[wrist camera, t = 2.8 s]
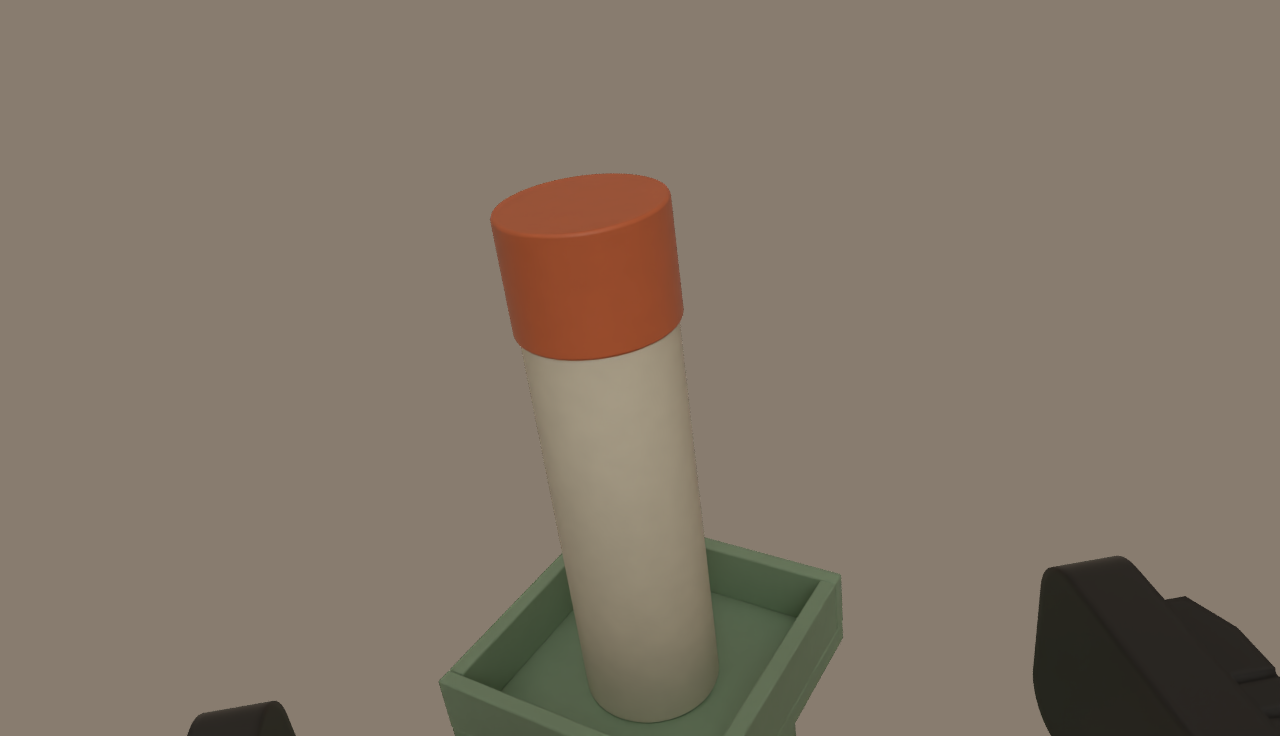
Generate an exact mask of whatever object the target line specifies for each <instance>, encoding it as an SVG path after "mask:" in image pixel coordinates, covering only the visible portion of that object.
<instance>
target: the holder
mask: <svg viewBox="0 0 1280 736" xmlns="http://www.w3.org/2000/svg"><path fill="white" fill-rule="evenodd" d="M704 538H705V537H704ZM705 547H706V556H707V565H708V573H709V582H710V591H711V600H712V609H713V617H714V626H715V635H716V644H717V653H718V661H719V673H718V678H717V680H716V683H715V685H714V687H713V689H712V691H711V692H710V694H709V695H708V696H707V698H706V699H705V700H704V701H703V702H702V703H701V704H699V705H698V706H697V707H695V708H694V709H693V710H691V711H689V712H688V713H686V714H683V715H681V716H679V717H676V718H673V719H670V720H666V721H661V722H653V723H642V722H633V721H628V720H624V719H621V718H619V717H616V716H614V715H612V714H611V713H609V712H607V711H606V710H605V709H604V708H602V707H601V706H600V705H599V704H598V703H597V701H596V700H595V699H594V697H593V695H592V694H591V691H590V689H589V685H588V680H587V675H586V670H585V665H584V660H583V655H582V650H581V645H580V640H579V635H578V630H577V625H576V620H575V615H574V610H573V605H572V600H571V595H570V590H569V585H568V580H567V575H566V569H565V564H564V559H563V554H561V555H560V556H559V557H558V558H557V559H556V560H555V561H554V562H553V563H552V564H551V565H550V566H549V567H548V568H547V569H546V571H544V572H543V573H542V574H541V575H540V577H539V578H538V579H537V580H536V581H535V582H534V583H533V584H532V585H531V586H530V587H529V588H528V589H527V590H526V591H525V592H524V593H523V594H522V595H521V596H520V597H519V598H518V599H517V600H516V601H515V602H514V604H513V605H512V606H511V607H510V608H509V609H508V610H507V611H506V612H505V613H504V614H503V615H502V616H501V617H500V618H499V619H498V620H497V621H496V622H495V623H494V624H493V625H492V626H491V627H490V628H489V629H488V630H487V631H486V633H485V634H484V635H483V636H482V637H481V638H480V639H479V640H478V641H477V642H476V643H475V644H474V645H473V646H472V647H471V648H470V649H469V650H468V651H467V652H466V653H465V654H464V655H463V656H462V657H461V658H460V660H459V661H458V662H457V663H456V664H455V665H454V666H453V667H452V668H451V669H450V671H448V672H447V673H446V674H445V675H444V676H443V677H442V678H441V679H440V680H439V685H440V688H441V692H442V695H443V698H444V701H445V705H446V708H447V712H448V715H449V718H450V722H451V725H452V727H453V731H454V734H455V736H796V731H795V722H796V721H797V719H798V717H799V715H800V713H801V712H802V710H803V708H804V706H805V705H806V703H807V701H808V699H809V697H810V695H811V693H812V692H813V690H814V688H815V687H816V685H817V683H818V681H819V679H820V678H821V676H822V674H823V672H824V671H825V669H826V667H827V665H828V663H829V662H830V660H831V658H832V656H833V654H834V653H835V651H836V649H837V647H838V646H839V644H840V642H841V640H842V638H843V632H842V631H843V629H842V620H843V618H842V592H841V591H842V590H841V575H840V574H838V573H834V572H830V571H826V570H823V569H819V568H816V567H812V566H808V565H804V564H801V563H797V562H793V561H790V560H786V559H782V558H779V557H775V556H771V555H768V554H764V553H760V552H757V551H752V550H749V549H745V548H742V547H738V546H734V545H730V544H727V543H723V542H720V541H716V540H712V539H708V538H705Z"/></svg>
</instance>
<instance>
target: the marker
mask: <svg viewBox="0 0 1280 736" xmlns="http://www.w3.org/2000/svg"><path fill="white" fill-rule="evenodd" d="M490 221H491V227H492V231H493V236H494V241H495V246H496V251H497V256H498V261H499V266H500V271H501V276H502V281H503V285H504V291H505V295H506V301H507V306H508V311H509V315H510V320H511V325H512V330H513V335H514V338H515V340H516V341H517V343H518V344H519V345H520V346H521V349H522V354H523V359H524V364H525V369H526V374H527V379H528V384H529V389H530V394H531V399H532V403H533V409H534V414H535V419H536V424H537V429H538V434H539V439H540V444H541V449H542V454H543V459H544V464H545V469H546V474H547V479H548V484H549V489H550V494H551V499H552V504H553V509H554V514H555V519H556V524H557V529H558V534H559V539H560V544H561V549H562V554H563V559H564V564H565V569H566V575H567V580H568V585H569V590H570V595H571V600H572V605H573V610H574V615H575V620H576V625H577V630H578V635H579V640H580V645H581V650H582V655H583V660H584V665H585V670H586V675H587V680H588V685H589V689H590V691H591V694H592V695H593V697H594V699H595V700H596V701H597V703H598V704H599V705H600V706H601V707H602V708H604V709H605V710H606V711H607V712H609V713H611V714H612V715H614V716H616V717H619V718H621V719H624V720H628V721H633V722H642V723H653V722H661V721H666V720H670V719H673V718H676V717H679V716H681V715H683V714H686V713H688V712H689V711H691V710H693V709H694V708H695V707H697V706H698V705H699V704H701V703H702V702H703V701H704V700H705V699H706V698H707V696H708V695H709V694H710V692H711V691H712V689H713V687H714V685H715V683H716V680H717V678H718V673H719V661H718V653H717V644H716V635H715V626H714V617H713V609H712V600H711V591H710V582H709V573H708V565H707V556H706V547H705V538H704V530H703V521H702V512H701V504H700V494H699V486H698V477H697V468H696V459H695V450H694V442H693V433H692V425H691V416H690V407H689V398H688V389H687V380H686V371H685V363H684V354H683V345H682V336H681V329H680V328H681V327H680V320H681V318H682V316H683V310H684V309H683V300H682V291H681V282H680V273H679V264H678V255H677V247H676V237H675V228H674V219H673V211H672V201H671V194H670V191H669V189H668V188H667V186H666V185H665V184H663V183H662V182H660V181H658V180H656V179H653V178H649V177H645V176H640V175H632V174H592V175H584V176H576V177H570V178H564V179H559V180H554V181H551V182H547V183H543V184H540V185H536V186H534V187H531V188H528V189H525V190H523V191H520V192H518V193H516V194H514V195H512V196H510V197H509V198H507V199H505V200H503V201H502V202H501V203H499V204H498V205H497V206H496V207H495V209H494V210H493V211H492V214H491V218H490Z"/></svg>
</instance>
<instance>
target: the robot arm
mask: <svg viewBox="0 0 1280 736" xmlns="http://www.w3.org/2000/svg"><path fill="white" fill-rule="evenodd" d="M1033 683H1034V689H1035V695H1036V699H1037V703H1038V706H1039V710H1040V712H1041V715H1042V718H1043V720H1044V723H1045V725H1046V727H1047V729H1048V731H1049V733H1050V735H1051V736H1280V677H1278V675H1277V674H1276V672H1275V667H1274V666H1273V665H1272V664H1271V663H1270V662H1269V661H1268V660H1267V659H1266V658H1265V657H1264V656H1263V654H1262V653H1261V652H1260V651H1259V650H1258V649H1257V648H1256V647H1255V646H1254V645H1253V644H1252V643H1251V642H1250V641H1249V640H1248V638H1247V637H1246V636H1245V635H1244V634H1243V633H1242V632H1241V631H1240V630H1239V629H1238V628H1237V627H1236V626H1234V625H1232V624H1230V623H1229V622H1227V621H1225V620H1224V619H1222V618H1221V617H1219V616H1217V615H1215V614H1214V613H1212V612H1211V611H1209V610H1207V609H1206V608H1204V607H1202V606H1201V605H1199V604H1197V603H1196V602H1194V601H1192V600H1191V599H1189V598H1187V597H1186V596H1184V597H1179V598H1173V599H1167V600H1164V598H1163V597H1162V596H1161V595H1160V594H1159V593H1158V592H1157V591H1156V589H1155V588H1154V587H1153V586H1152V585H1151V584H1150V582H1149V581H1148V580H1147V579H1146V578H1145V577H1144V576H1143V575H1142V573H1141V572H1140V571H1139V570H1138V569H1137V568H1136V567H1135V566H1134V565H1133V564H1132V563H1131V562H1130V561H1129V560H1127V559H1126V558H1124V557H1121V556H1113V557H1107V558H1102V559H1096V560H1090V561H1084V562H1079V563H1073V564H1067V565H1062V566H1056V567H1051V568H1048V569H1047V570H1046V571H1045V572H1044V574H1043V577H1042V581H1041V590H1040V601H1039V612H1038V622H1037V634H1036V644H1035V656H1034V666H1033ZM187 736H296V735H295V733H294V730H293V728H292V726H291V723H290V721H289V718H288V716H287V713H286V711H285V709H284V708H283V706H282V705H281V704H280V703H279V702H277V701H271V702H265V703H259V704H254V705H247V706H242V707H236V708H230V709H224V710H219V711H213V712H207V713H202V714H200V715H198V716H197V717H196V719H195V720H194V721H193V723H192V725H191V727H190V729H189V732H188V735H187Z"/></svg>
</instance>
